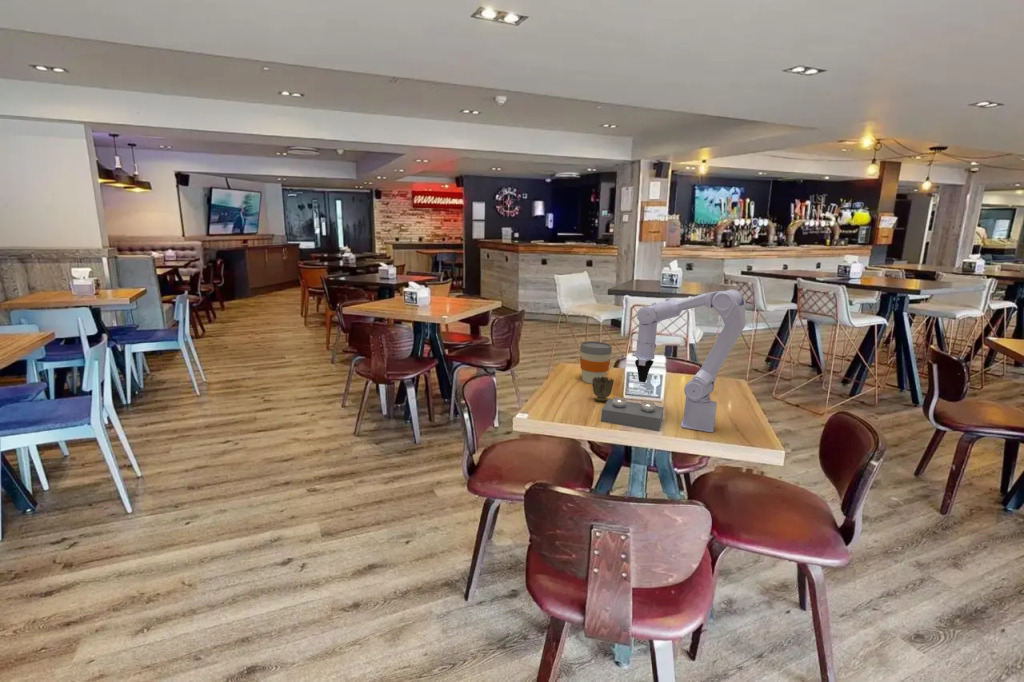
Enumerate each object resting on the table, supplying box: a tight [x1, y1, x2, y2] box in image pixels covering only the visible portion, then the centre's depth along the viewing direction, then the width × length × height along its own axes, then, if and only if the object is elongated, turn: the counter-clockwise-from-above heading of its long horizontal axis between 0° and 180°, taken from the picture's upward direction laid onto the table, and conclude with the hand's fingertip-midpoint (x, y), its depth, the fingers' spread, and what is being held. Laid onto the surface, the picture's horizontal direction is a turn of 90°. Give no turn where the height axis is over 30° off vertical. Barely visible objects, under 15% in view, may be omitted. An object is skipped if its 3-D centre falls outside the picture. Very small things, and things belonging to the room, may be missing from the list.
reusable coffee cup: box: [579, 341, 613, 385], centre depth 209 cm, size 13×13×15 cm
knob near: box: [640, 401, 657, 412], centre depth 165 cm, size 4×4×5 cm
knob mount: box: [600, 398, 665, 432], centre depth 167 cm, size 18×12×4 cm, turn 69°
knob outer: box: [612, 396, 628, 408], centre depth 168 cm, size 4×4×5 cm
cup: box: [592, 376, 614, 403], centre depth 185 cm, size 8×7×8 cm
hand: (642, 381), depth 174 cm, fingers closed
